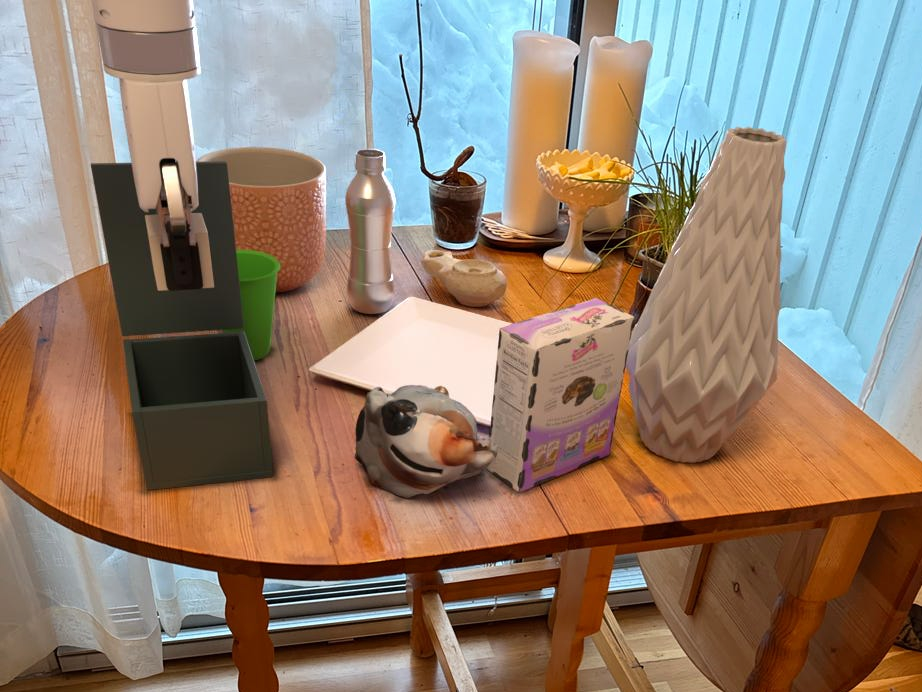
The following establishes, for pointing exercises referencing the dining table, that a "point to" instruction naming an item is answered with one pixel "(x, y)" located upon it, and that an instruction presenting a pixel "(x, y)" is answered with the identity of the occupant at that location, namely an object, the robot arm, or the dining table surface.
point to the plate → (423, 354)
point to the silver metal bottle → (370, 234)
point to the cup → (257, 299)
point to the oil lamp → (466, 278)
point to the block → (156, 237)
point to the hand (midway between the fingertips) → (181, 274)
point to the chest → (198, 410)
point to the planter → (278, 208)
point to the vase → (714, 307)
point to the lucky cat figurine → (418, 440)
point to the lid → (133, 262)
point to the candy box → (557, 391)
